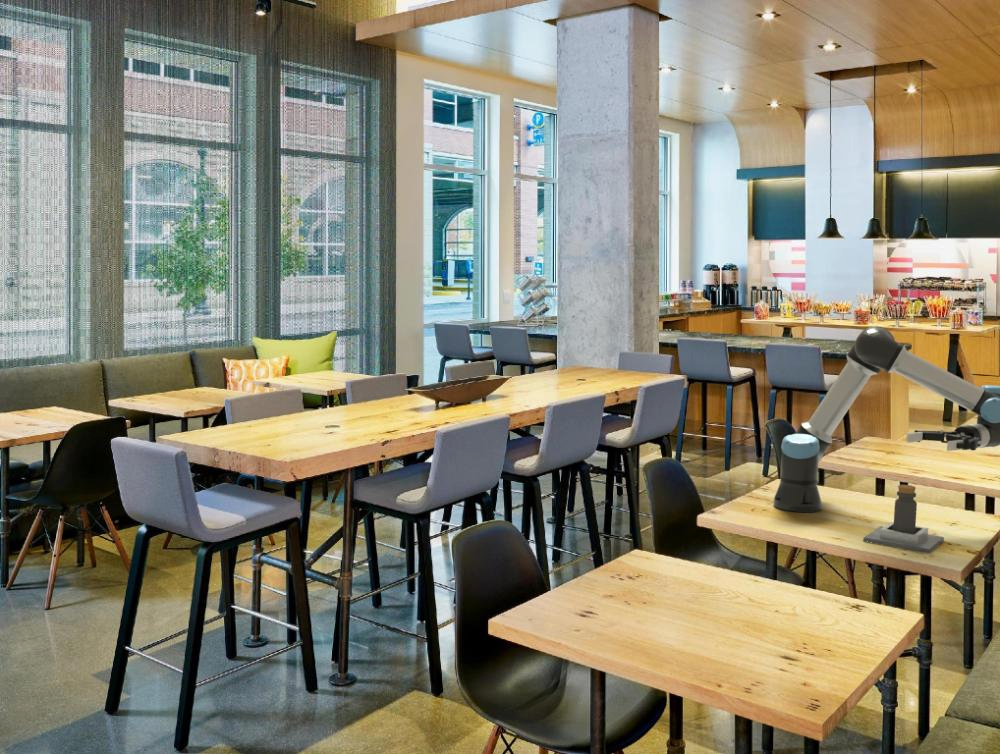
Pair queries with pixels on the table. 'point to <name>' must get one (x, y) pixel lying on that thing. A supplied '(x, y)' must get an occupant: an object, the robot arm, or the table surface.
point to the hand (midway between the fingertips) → (927, 441)
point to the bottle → (905, 509)
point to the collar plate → (905, 538)
